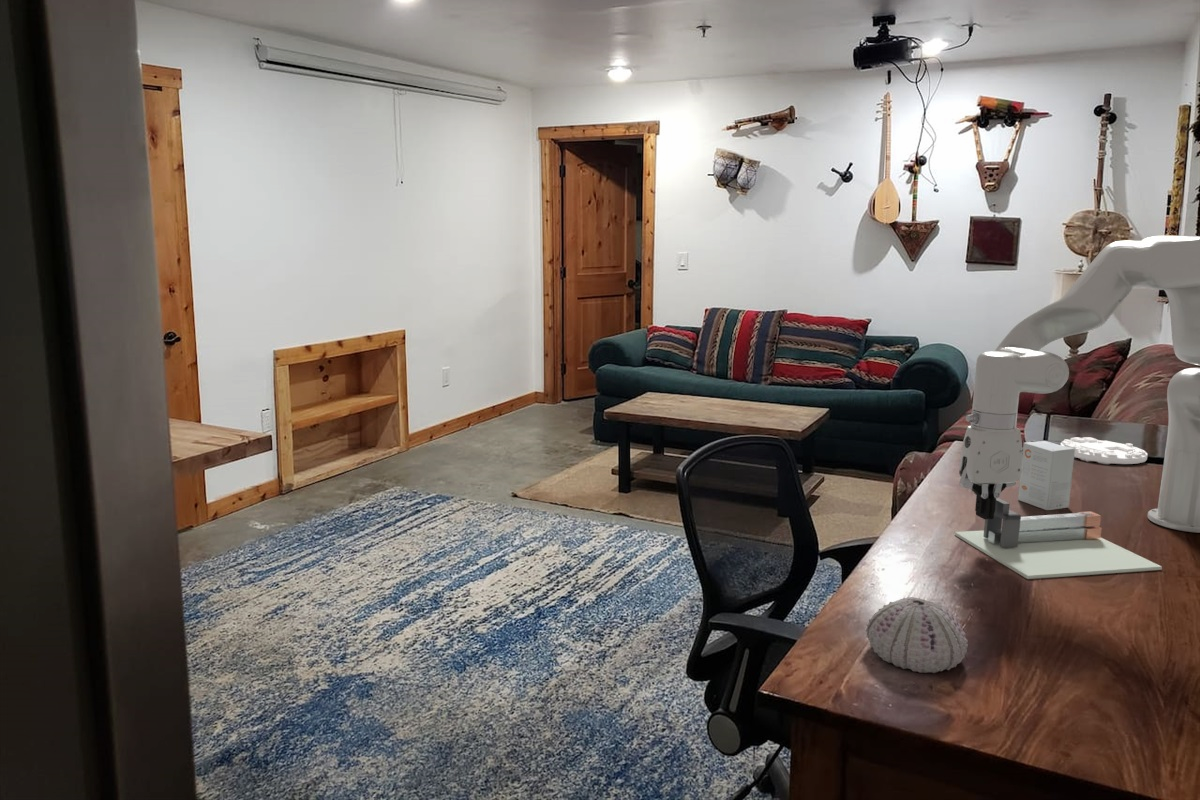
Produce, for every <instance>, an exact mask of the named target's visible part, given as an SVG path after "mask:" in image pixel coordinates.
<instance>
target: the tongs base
mask: <svg viewBox="0 0 1200 800" xmlns="http://www.w3.org/2000/svg"><path fill="white" fill-rule="evenodd" d="M1102 530H1103V528H1102V527H1101V526H1090V527H1086V526H1079V527H1064V528H1050V529H1036V530H1022V531H1019V538H1018V542H1035V541H1051V540H1067V539H1083V538H1085V539H1097V538H1102ZM1001 533H1002V530H989V536H988V541H990V542H991V543H993V544H1000V543H1001Z"/></svg>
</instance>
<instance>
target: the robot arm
mask: <svg viewBox="0 0 1200 800" xmlns="http://www.w3.org/2000/svg"><path fill="white" fill-rule="evenodd" d="M1135 289H1142V290H1143V289H1144V290H1155V291H1156V290H1157V291H1164V292H1165V295H1166V296H1167V300H1168V306H1169V316H1170V327H1171V328H1170V329H1171V340H1172V348H1173V352H1174V354H1175V356H1176V358H1177V359H1178V360H1180V361H1182V362H1184V363H1187V364H1191V365H1196V366H1200V235H1198V236H1197V235H1193V236H1192V235H1170V234H1169V235H1166V234H1165V235H1164V234H1163V235H1153V236H1149V237H1145V238H1143V239H1141V240H1131V239H1130V240H1129V239H1128V240H1117V241H1113V242H1111V243H1109V244H1107V245H1106V246H1104V248H1102V249H1101V251H1099V253H1098V254H1097V255H1096V256H1095V258H1093V260H1092V261H1091V262H1090V264H1088V266H1087V267H1086V268H1085V269H1084V271H1083V272H1082V273H1081V275H1079V277H1078V278H1077V279H1076V280H1075V281H1074V283H1073V284H1072V285H1071V286H1070V287H1069V288H1068V290H1067V291H1066V293H1064V295H1063V296H1062V297H1061V298H1059V299H1057V300H1055V301H1053V302H1051V303H1050V304H1047V305H1045V306H1044V307H1043V308H1040V309H1039V310H1037V311H1035V312H1034V313H1032V314H1030V315H1029V316H1027V317H1025V318H1024V319H1022V320H1021V321H1019V322H1018V323H1017V324H1016V325H1015V326H1014V327H1013V328H1012V329H1011V330H1010V331H1009V332H1008V333H1007V335H1006V336H1005V337H1004V338H1003V339H1002V341H1001V342H1000V343H999V344H998V346H997V347H996V348H995V350H994V351H985V352H982V353H980V354H979V355H978V356H977V359H976V364H975V366H976V367H975V376H974V385H973V398H972V408H971V414H966V416H965V420H966V422H967V423H970V425H968V426H967V427H966V431H965V434H964V438H963V441H962V445H961V451H960V458H959V466H958V474H959V477H960V481H959V482H958V485H959V487H963V488H964V489H967V490H968V489H969V490H971V491H972V492H973V494H974V495H976V498H975V508H974V509H975V510H974V511H975V515H976V516H978V518H982V520H985V519H988V518H989V519H993V518H994V512H995V506H996V498H999V499H1000V496H1001V493H1002V492H1003V491H1004V490H1005V489H1007V488H1009V487H1013V486H1015V485H1016V483H1017V482H1018V481H1020V477H1021V472H1022V455H1023V442H1022V433H1021V429H1020V428H1019V427H1017V422H1018V420H1017V419H1018V409H1019V402H1020V401H1019V400H1020V393H1030V394H1042V395H1043V394H1051V393H1054V392H1057V391H1059V390H1061V389H1062V388H1063V387H1064V385H1065V384H1066V383H1067V381H1068V379H1069V376H1070V369H1069V365H1068V363H1067V362H1066V361H1065V359H1064V358H1062V357H1061V356H1060V355H1058V354H1055V353H1052V352H1049V351H1043V350H1042V349H1043V348H1044V347H1045V346H1047V345H1049V344H1050V343H1053V342H1055V341H1058V340H1061V339H1062V338H1066V337H1069V336H1073V335H1074V336H1075V335H1078V334H1079V335H1080V334H1084V333H1087V332H1091V331H1093V330H1095V329H1098V328H1100V327H1102V326H1103V325H1104V324H1106V322H1107V321H1108V320H1109V319H1110V318H1111V316H1112V315H1113V314H1114V312H1115V311H1116V310H1117V309H1118V308H1119V306H1120V305H1121V304H1122V303H1123V302H1124V301H1125V300H1126V298H1127V297H1128V296H1129V294H1131V292H1132V291H1133V290H1135ZM1166 391H1167V392H1166V398H1167V409H1168V410H1167V411H1168V423H1167V425H1168V426H1167V437H1166V444H1165V449H1164V450H1165V451H1164V459H1163V467H1162V473H1161V480H1160V481H1161V482H1160V488H1159V495H1158V501H1157V502H1158V503H1157V508H1152V509H1150V510H1148V512H1147V519H1148V520H1149V521H1151V522H1152V523H1154V524H1156V525H1159V526H1161V527H1164V528H1167V529H1171V530H1176V531H1180V532H1181V531H1182V532H1189V533H1198V534H1199V533H1200V367H1189V368H1184V369H1182V370H1180V371H1178V372H1176V373H1175V374H1174V375H1173V376H1172V377H1171V378H1170V380H1169V382H1168V386H1167V389H1166Z"/></svg>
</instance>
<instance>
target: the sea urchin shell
mask: <svg viewBox="0 0 1200 800" xmlns="http://www.w3.org/2000/svg"><path fill="white" fill-rule="evenodd" d="M865 632H866V636H865V637H866V638H867V639H868V641H869V646H870V647H871V648H873V652H874V653H875V654H877V656H878V657H880V658H881V659H882V660H883V661H885V662H887V663H888V664H893V665H894V666H895V667H900V668H901V669H903V670H907V669H909V670H911V671H912V672H918V673H920V674H921V673H926V674H927V673H933V674H936V673H938V672H943V671H945V670H947V671H950V670H951V669H952V668H956V667H957V665H959V664H961V663H962V660H963V659H965V658H966V657H965V655H966V654H967V651H968V650H967V649H968V647H969V645H968V642H969V641H968V639H967V638H966V633H965V631H964V630H963V628H962V624H961V623H959V619H958V618H956V617H955V615H954V613H952V612H951V611H949V609H948V608H947V607H945V606H944V605H942V604H940V603H939V602H936V601H935V602H934V601H931V600H927V599H926V600H925V599H922V598H920V597H914V596H907V597H903V598H900V599H898V600H895V601H889V603H888V604H884V605H883V607H882V608H878V611H876V612H875V613H874V614H873V615H872V617H871V618H869V619H868V622H867V624H866V629H865Z"/></svg>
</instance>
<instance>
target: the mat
mask: <svg viewBox="0 0 1200 800" xmlns="http://www.w3.org/2000/svg"><path fill="white" fill-rule="evenodd" d="M1001 530H1002V528H1001ZM954 536H956V537H957V538H959V539H961V540H962V541H964V542H965V543H967V544H969V545H970V546H972V547H974V548H975V549H977V550H978V551H980V552H982V553H984V554H985V555H987V556H989V557H990V558H992V559H993V560H995V561H996V562H998V563H1000V564H1002V565H1003V566H1005V567H1007V568H1009V569H1010V570H1012V571H1013V572H1015V573H1016V574H1019V575H1020V576H1022V577H1023V578H1024V579H1027V580H1033V579H1034V580H1035V579H1036V580H1037V579H1048V578H1061V577H1063V578H1064V577H1075V576H1090V575H1093V576H1094V575H1104V574H1105V575H1107V574H1116V573H1117V574H1120V573H1134V572H1135V573H1136V572H1149V571H1162V568H1163V567H1162V565H1159V564H1157V563H1156V562H1154V561H1151V560H1149V559H1148V558H1145V557H1143V556H1140V555H1138V554H1136V553H1135V552H1132V551H1130V550H1128V549H1126V548H1124V547H1122V546H1120V545H1118V544H1115V543H1113V542H1111V541H1109V540H1107V539H1105V538H1103V537H1101V538H1097V539H1085V538H1083V539H1067V540H1051V541H1035V542H1018V547H1009V548H1002V547H1000V544H993V543H991V542H990V541H988V538H985V537H983V536H984V529H983V530H968V531H965V530H964V531H954Z"/></svg>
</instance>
